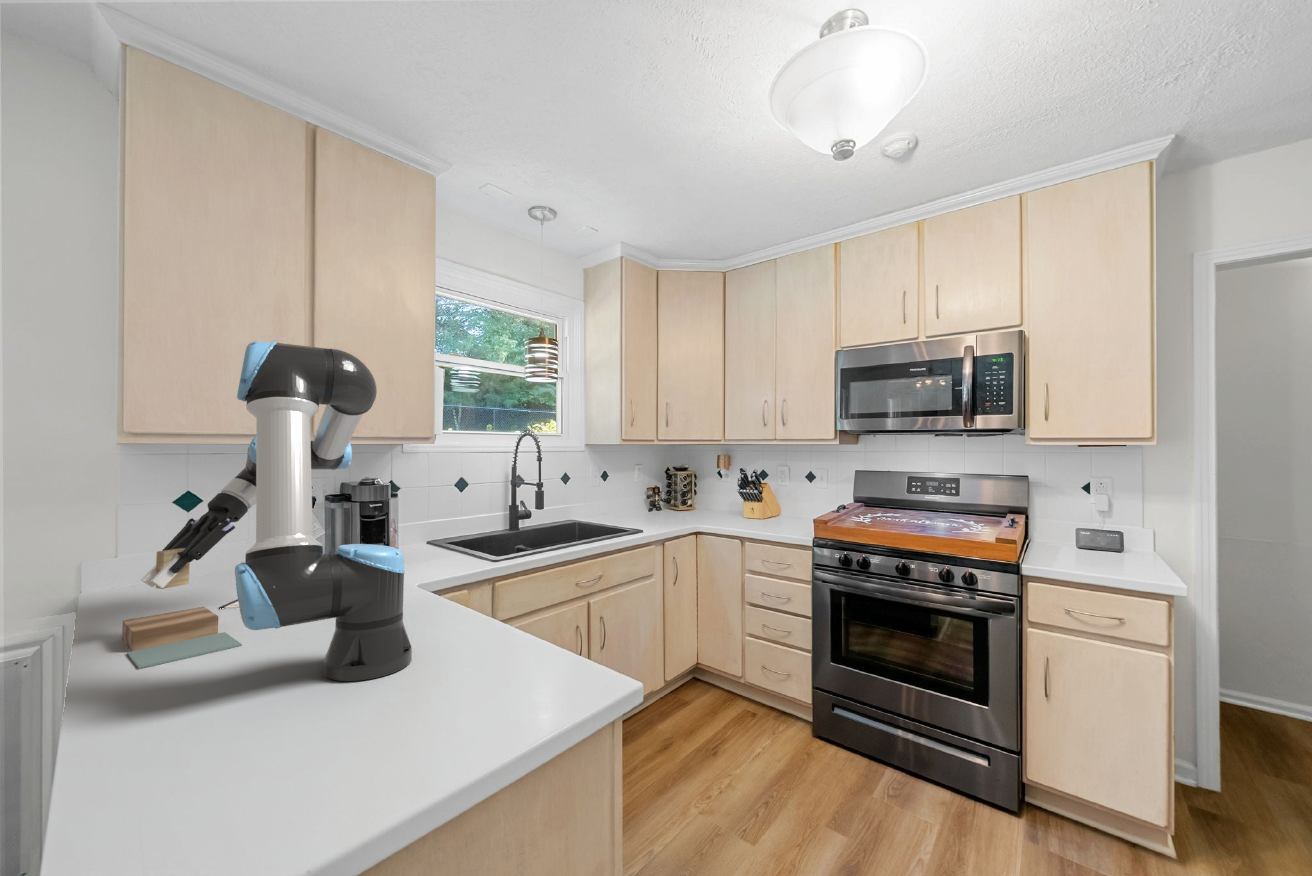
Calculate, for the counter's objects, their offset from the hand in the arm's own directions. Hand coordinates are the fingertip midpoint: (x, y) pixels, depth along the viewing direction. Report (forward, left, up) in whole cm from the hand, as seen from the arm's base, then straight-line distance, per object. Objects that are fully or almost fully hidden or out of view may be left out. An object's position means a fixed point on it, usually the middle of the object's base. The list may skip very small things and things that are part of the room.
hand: (151, 583), depth 117 cm
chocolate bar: (+22, -26, -13) cm, 36 cm away
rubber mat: (-12, -4, -13) cm, 18 cm away
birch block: (+1, -4, -1) cm, 4 cm away
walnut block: (+1, -4, -13) cm, 13 cm away
